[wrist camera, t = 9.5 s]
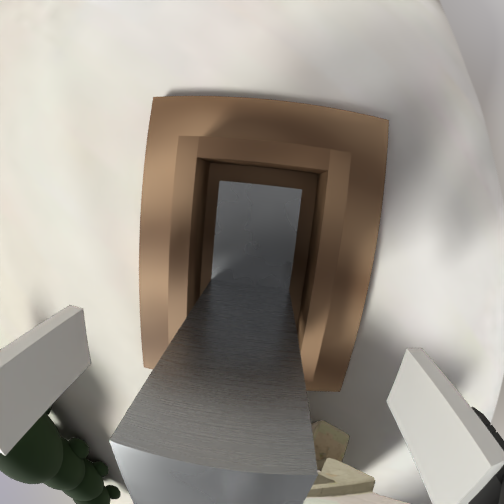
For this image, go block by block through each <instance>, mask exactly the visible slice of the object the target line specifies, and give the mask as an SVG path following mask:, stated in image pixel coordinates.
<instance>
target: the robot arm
mask: <svg viewBox="0 0 504 504" xmlns="http://www.w3.org/2000/svg"><path fill="white" fill-rule="evenodd" d="M90 364H91V359H90V354H89V348H88V341H87V335H86V328H85V320H84V311H83V308H79V307H76V306H72V305H69V306H67V307H66V308H64V309H62V310H61V311H59V312H58V313H56V314H54V315H53V316H51V317H50V318H48V319H47V320H45V321H43V322H42V323H40V324H39V325H37V326H36V327H34V328H33V329H31V330H30V331H28V332H26V333H25V334H23V335H22V336H20V337H19V338H17V339H16V340H14V341H13V342H11V343H10V344H8V345H7V346H6V347H4V348H3V349H0V453H2V454H3V455H4V456H6V455H7V454H8V452H9V451H10V450H11V449H12V448H13V447H14V446H15V445H16V443H17V442H18V441H19V440H20V439H21V438H22V437H23V436H24V434H25V433H26V432H27V431H28V430H29V429H30V428H31V427H32V426H33V425H34V423H35V422H36V421H37V420H38V419H39V418H40V417H41V416H42V415H43V414H44V413H45V411H46V410H47V409H48V408H49V407H50V406H51V405H52V404H53V403H54V402H55V401H56V400H57V399H58V398H59V397H60V395H61V394H62V393H63V392H64V391H65V390H66V389H67V388H68V387H69V386H70V385H71V384H72V383H73V382H74V381H75V380H76V379H77V378H78V377H79V376H80V375H81V374H82V373H83V371H84V370H85V369H86V368H87V367H88V366H89V365H90ZM386 402H387V404H388V406H389V408H390V410H391V412H392V415H393V417H394V419H395V421H396V423H397V425H398V427H399V429H400V431H401V434H402V436H403V438H404V440H405V442H406V444H407V447H408V449H409V451H410V453H411V455H412V458H413V460H414V462H415V464H416V467H417V469H418V471H419V474H420V476H421V478H422V481H423V483H424V485H425V488H426V490H427V492H428V495H429V497H430V500H431V502H432V504H504V441H503V439H502V438H501V436H500V435H499V434H498V432H496V430H495V428H494V427H493V426H492V425H490V422H489V421H488V419H487V418H486V417H485V416H484V414H482V413H481V412H480V411H478V410H477V409H475V408H474V407H470V405H469V404H468V403H467V402H466V400H465V399H464V398H463V397H462V395H461V394H460V393H459V392H458V390H457V389H456V388H455V387H454V385H453V384H452V383H451V382H450V381H449V379H448V378H447V377H446V376H445V375H444V373H443V372H442V371H441V370H440V369H439V367H438V366H437V365H436V364H435V363H434V362H433V360H432V359H431V358H430V357H429V356H428V355H427V353H426V352H425V351H424V350H423V349H422V348H407V349H406V352H405V355H404V357H403V360H402V363H401V366H400V369H399V371H398V374H397V376H396V379H395V382H394V384H393V387H392V389H391V391H390V394H389V396H388V399H387V401H386Z"/></svg>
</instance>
